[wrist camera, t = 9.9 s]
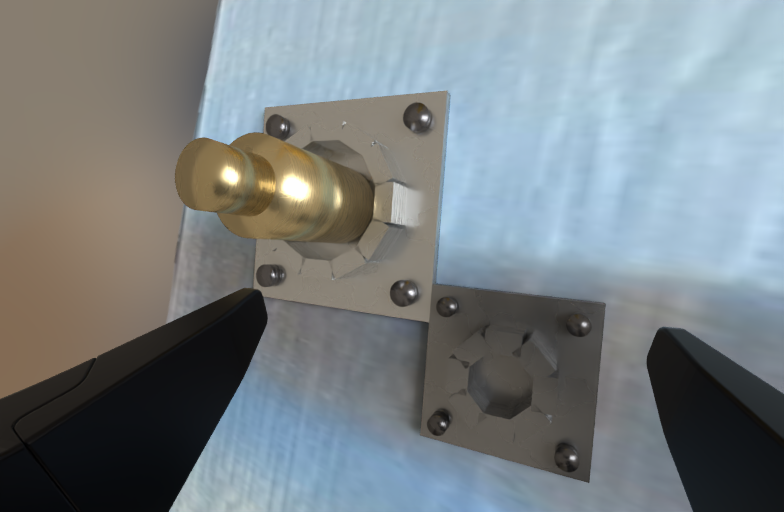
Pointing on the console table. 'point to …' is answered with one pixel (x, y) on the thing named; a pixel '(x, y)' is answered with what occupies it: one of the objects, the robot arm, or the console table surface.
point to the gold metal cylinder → (274, 190)
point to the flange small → (514, 376)
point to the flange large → (390, 211)
